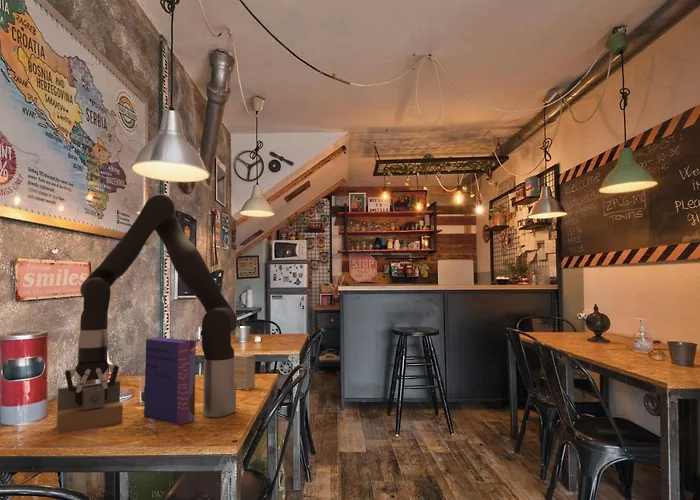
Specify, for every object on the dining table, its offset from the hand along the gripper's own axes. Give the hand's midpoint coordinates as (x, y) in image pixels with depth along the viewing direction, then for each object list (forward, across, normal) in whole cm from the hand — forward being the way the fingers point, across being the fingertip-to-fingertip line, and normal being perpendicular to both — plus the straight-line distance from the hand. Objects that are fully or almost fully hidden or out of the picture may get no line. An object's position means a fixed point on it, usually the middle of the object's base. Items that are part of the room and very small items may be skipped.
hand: (91, 402), depth 127 cm
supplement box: (+7, -53, -14) cm, 55 cm away
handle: (+7, -1, -16) cm, 17 cm away
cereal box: (+7, -20, +8) cm, 22 cm away
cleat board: (+6, 0, 0) cm, 6 cm away
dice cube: (+1, 0, +1) cm, 2 cm away
